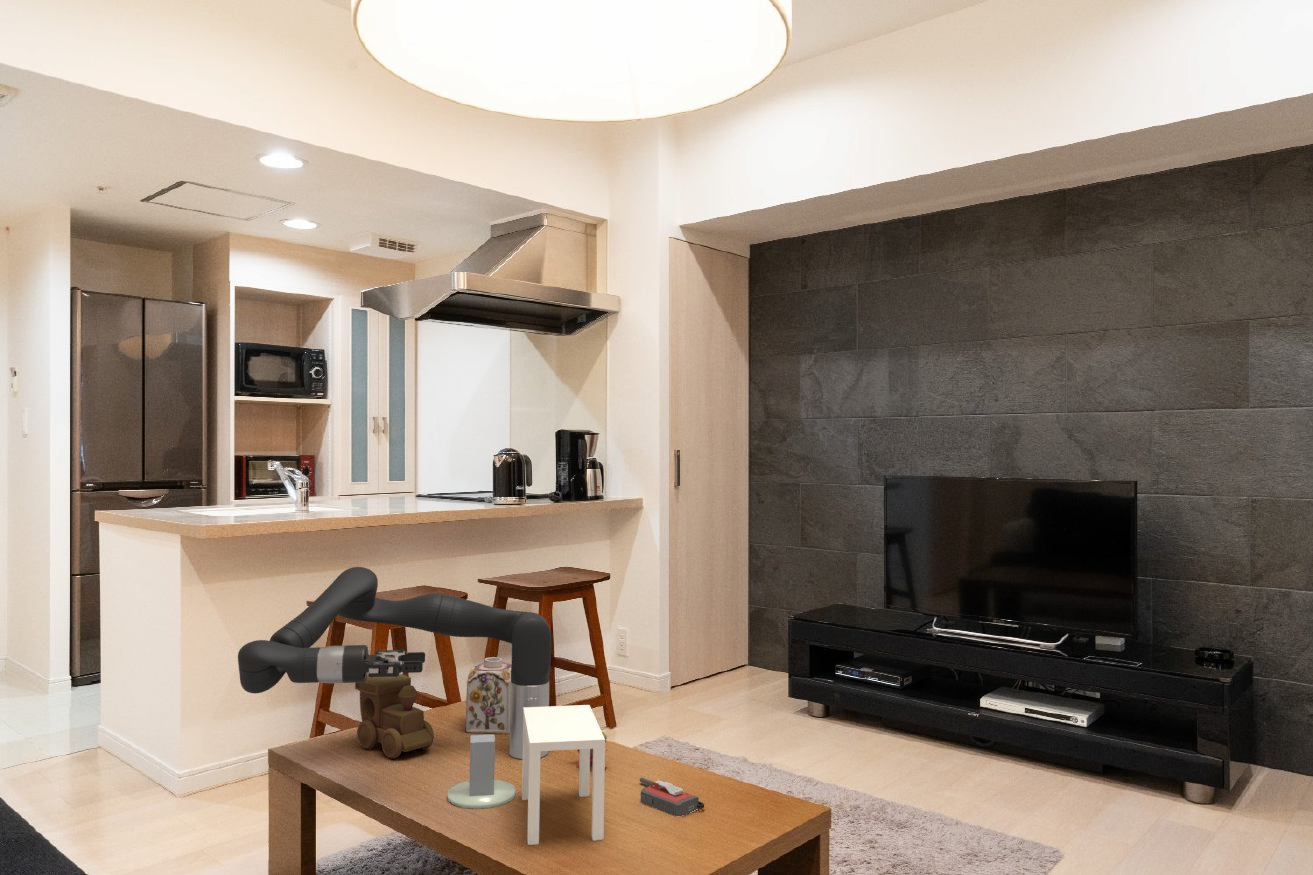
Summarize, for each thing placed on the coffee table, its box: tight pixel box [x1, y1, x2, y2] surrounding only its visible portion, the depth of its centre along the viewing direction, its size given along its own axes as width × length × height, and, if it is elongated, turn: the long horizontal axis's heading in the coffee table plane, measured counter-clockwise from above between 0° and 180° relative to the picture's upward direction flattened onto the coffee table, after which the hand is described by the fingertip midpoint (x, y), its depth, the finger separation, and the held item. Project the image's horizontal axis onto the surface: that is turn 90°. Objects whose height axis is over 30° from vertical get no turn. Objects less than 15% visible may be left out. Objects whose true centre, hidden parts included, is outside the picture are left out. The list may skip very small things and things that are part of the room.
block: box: [469, 733, 496, 796], centre depth 189 cm, size 5×5×11 cm
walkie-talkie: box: [639, 776, 705, 817], centre depth 189 cm, size 9×4×20 cm
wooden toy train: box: [354, 673, 435, 760], centre depth 219 cm, size 20×11×17 cm, turn 50°
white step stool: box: [521, 704, 606, 846], centre depth 179 cm, size 14×24×19 cm, turn 11°
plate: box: [447, 779, 516, 810], centre depth 189 cm, size 14×14×1 cm
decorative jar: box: [465, 656, 512, 735], centre depth 238 cm, size 12×12×18 cm
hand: (423, 661), depth 189 cm, fingers open, 8 cm apart
